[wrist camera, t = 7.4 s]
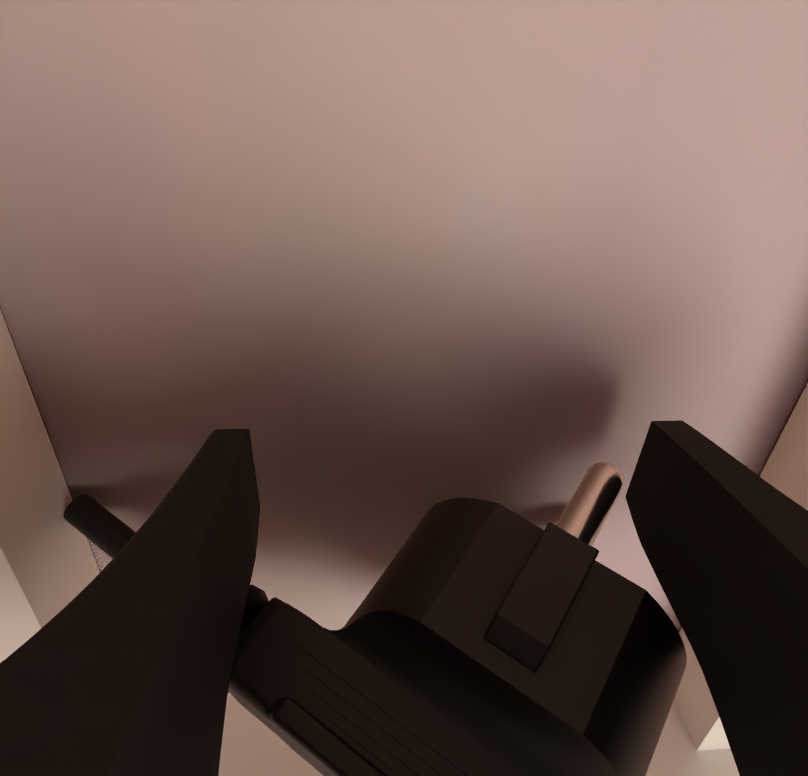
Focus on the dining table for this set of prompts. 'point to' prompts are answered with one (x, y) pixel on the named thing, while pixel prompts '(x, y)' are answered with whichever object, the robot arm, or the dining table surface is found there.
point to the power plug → (465, 651)
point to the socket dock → (243, 733)
